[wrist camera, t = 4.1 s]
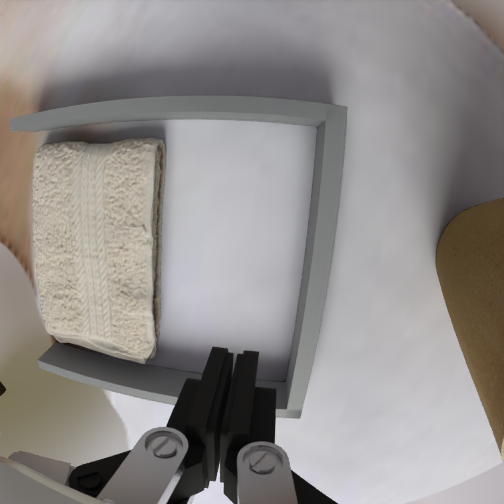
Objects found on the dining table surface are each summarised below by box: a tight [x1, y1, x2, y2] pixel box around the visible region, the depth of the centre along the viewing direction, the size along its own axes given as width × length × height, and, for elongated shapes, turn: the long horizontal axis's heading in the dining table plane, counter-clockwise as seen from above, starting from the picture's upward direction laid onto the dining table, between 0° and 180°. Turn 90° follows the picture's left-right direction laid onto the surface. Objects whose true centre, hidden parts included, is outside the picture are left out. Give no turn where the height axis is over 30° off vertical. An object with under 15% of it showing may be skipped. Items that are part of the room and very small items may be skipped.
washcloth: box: [32, 137, 166, 364], centre depth 22 cm, size 12×18×3 cm, turn 174°
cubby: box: [9, 95, 347, 418], centre depth 21 cm, size 22×24×4 cm
